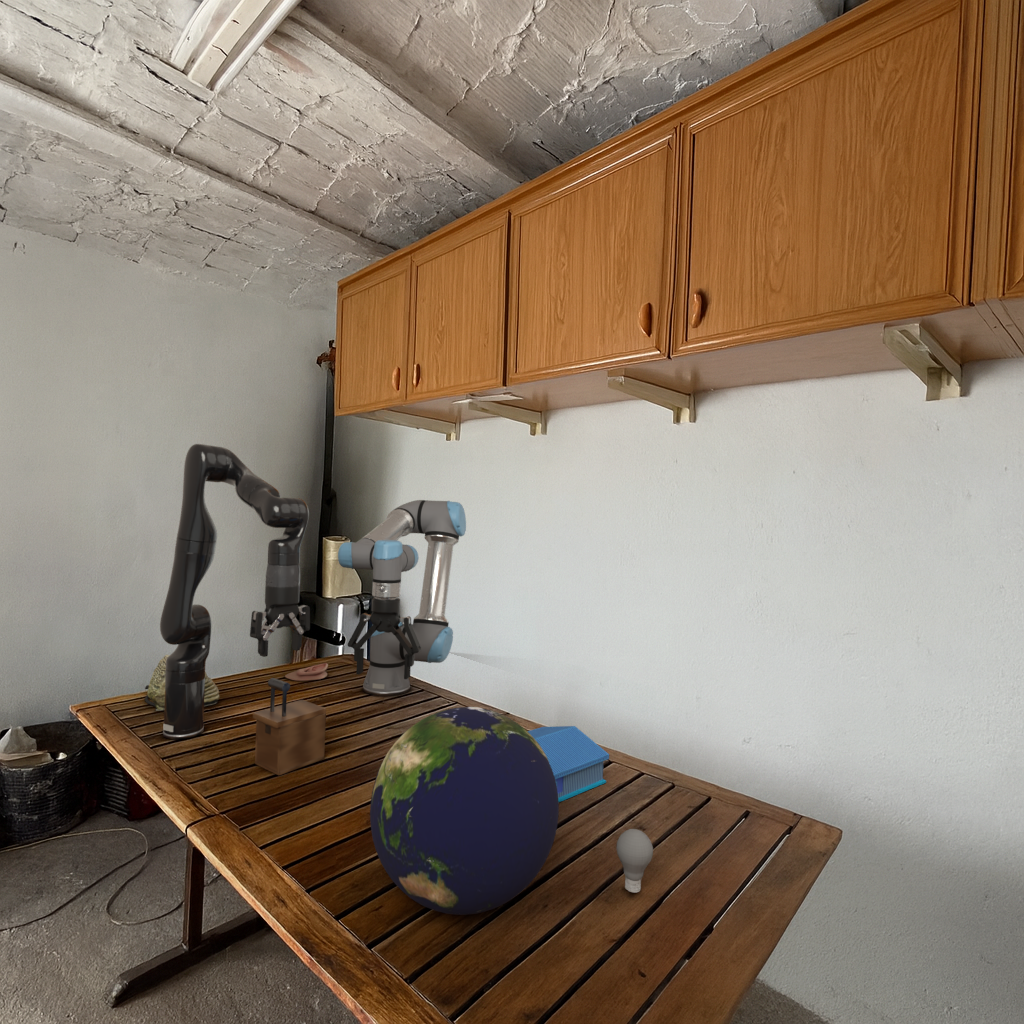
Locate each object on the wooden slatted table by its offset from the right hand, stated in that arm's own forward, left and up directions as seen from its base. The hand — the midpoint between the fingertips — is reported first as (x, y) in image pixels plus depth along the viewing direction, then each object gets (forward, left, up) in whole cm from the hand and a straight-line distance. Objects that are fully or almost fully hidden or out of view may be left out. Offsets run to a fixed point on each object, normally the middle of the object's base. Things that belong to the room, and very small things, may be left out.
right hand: (383, 675), depth 171 cm
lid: (+24, -13, -4) cm, 28 cm away
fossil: (-2, -62, -15) cm, 64 cm away
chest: (+24, -13, -15) cm, 31 cm away
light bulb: (+54, +67, -15) cm, 88 cm away
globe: (+63, +40, -15) cm, 77 cm away
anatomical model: (-40, -44, -15) cm, 62 cm away
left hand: (+27, -15, +11) cm, 33 cm away
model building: (+24, +42, -15) cm, 51 cm away
